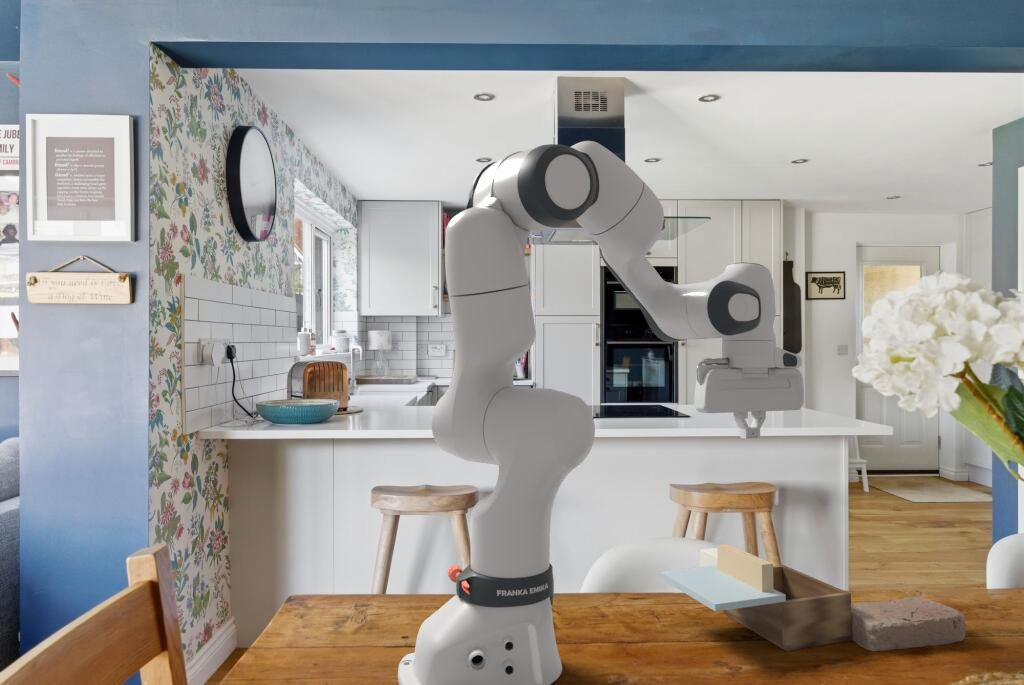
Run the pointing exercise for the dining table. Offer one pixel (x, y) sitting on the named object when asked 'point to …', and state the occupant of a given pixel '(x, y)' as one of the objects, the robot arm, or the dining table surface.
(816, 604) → the dark wood box
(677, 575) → the lid
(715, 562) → the block
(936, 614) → the brick
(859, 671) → the dining table surface
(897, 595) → the dining table surface
